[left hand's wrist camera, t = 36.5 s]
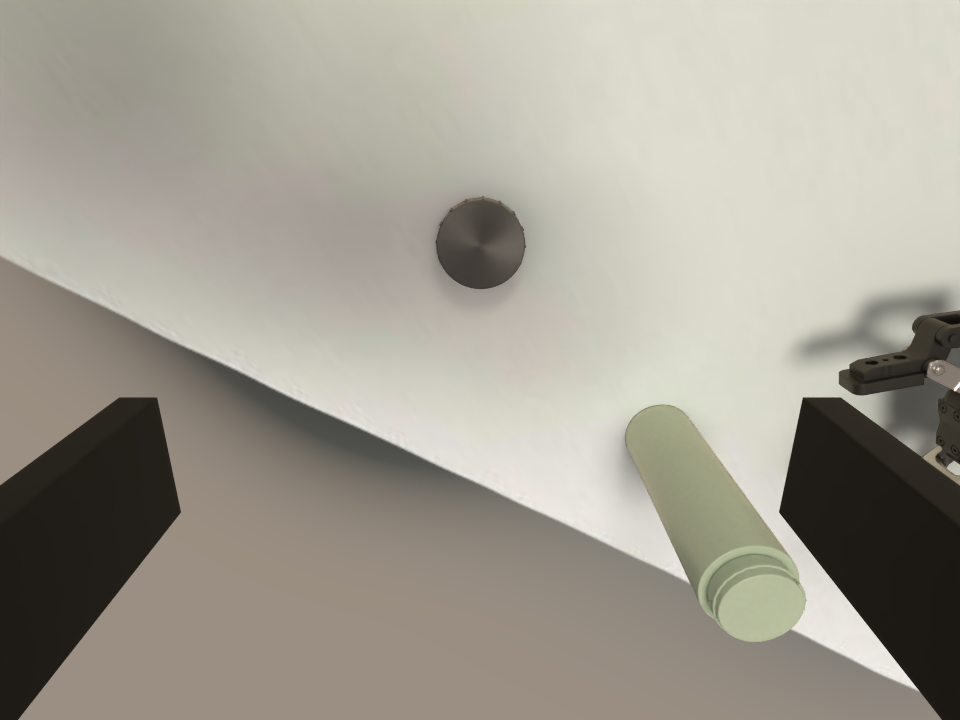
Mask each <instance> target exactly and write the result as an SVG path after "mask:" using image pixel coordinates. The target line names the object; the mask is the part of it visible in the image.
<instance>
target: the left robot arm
mask: <svg viewBox="0 0 960 720" xmlns="http://www.w3.org/2000/svg"><path fill="white" fill-rule="evenodd" d="M180 513H181V510H180V506H179V501H178V496H177V491H176V486H175V482H174V477H173V472H172V467H171V462H170V458H169V453H168V448H167V443H166V438H165V434H164V429H163V424H162V419H161V414H160V409H159V405H158V400H157V398H118V399H117V400H115V401H114V402H113V403H111V404H110V405H109V406H107V407H106V408H105V409H103V410H102V411H100V412H99V413H98V414H96V415H95V416H94V417H92V418H91V419H90V420H88V421H87V422H86V423H84V424H83V425H81V426H80V427H79V428H77V429H76V430H75V431H73V432H72V433H71V434H69V435H68V436H67V437H65V438H64V439H62V440H61V441H60V442H58V443H57V444H56V445H54V446H53V447H52V448H50V449H49V450H48V451H46V452H45V453H44V454H42V455H41V456H39V457H38V458H37V459H35V460H34V461H33V462H31V463H30V464H29V465H27V466H26V467H25V468H23V469H22V470H20V471H19V472H18V473H16V474H15V475H14V476H12V477H11V478H10V479H8V480H7V481H6V482H4V483H3V484H2V485H0V720H18V719H19V718H20V716H21V715H22V714H23V713H24V711H25V710H26V709H27V707H28V706H29V705H30V704H31V702H32V701H33V700H34V699H35V697H36V696H37V695H38V694H39V692H40V691H41V690H42V688H43V687H44V686H45V685H46V683H47V682H48V681H49V680H50V678H51V677H52V676H53V674H54V673H55V672H56V671H57V669H58V668H59V667H60V666H61V664H62V663H63V662H64V660H65V659H66V658H67V657H68V655H69V654H70V653H71V652H72V650H73V649H74V648H75V646H76V645H77V644H78V643H79V641H80V640H81V639H82V638H83V636H84V635H85V634H86V632H87V631H88V630H89V629H90V627H91V626H92V625H93V624H94V622H95V621H96V620H97V618H98V617H99V616H100V615H101V613H102V612H103V611H104V609H105V608H106V607H107V606H108V604H109V603H110V602H111V601H112V599H113V598H114V597H115V596H116V594H117V593H118V592H119V590H120V589H121V588H122V587H123V585H124V584H125V583H126V582H127V580H128V579H129V578H130V576H131V575H132V574H133V573H134V571H135V570H136V569H137V568H138V566H139V565H140V564H141V562H142V561H143V560H144V559H145V557H146V556H147V555H148V554H149V552H150V551H151V550H152V548H153V547H154V546H155V545H156V543H157V542H158V541H159V540H160V538H161V537H162V536H163V534H164V533H165V532H166V531H167V529H168V528H169V527H170V525H171V524H172V523H173V522H174V520H175V519H176V518H177V517H178V515H179V514H180ZM779 513H780V514H781V515H782V517H783V518H784V519H785V520H786V522H787V523H788V524H789V526H790V527H791V528H792V529H793V531H794V532H795V533H796V534H797V536H798V537H799V538H800V540H801V541H802V542H803V543H804V545H805V546H806V547H807V548H808V550H809V551H810V552H811V554H812V555H813V556H814V557H815V559H816V560H817V561H818V562H819V564H820V565H821V566H822V568H823V569H824V570H825V571H826V573H827V574H828V575H829V576H830V578H831V579H832V580H833V582H834V583H835V584H836V585H837V587H838V588H839V589H840V590H841V592H842V593H843V594H844V596H845V597H846V598H847V599H848V601H849V602H850V603H851V604H852V606H853V607H854V608H855V610H856V611H857V612H858V613H859V615H860V616H861V617H862V618H863V620H864V621H865V622H866V624H867V625H868V626H869V627H870V629H871V630H872V631H873V632H874V634H875V635H876V636H877V638H878V639H879V640H880V641H881V643H882V644H883V645H884V646H885V648H886V649H887V650H888V652H889V653H890V654H891V655H892V657H893V658H894V659H895V660H896V662H897V663H898V664H899V666H900V667H901V668H902V669H903V671H904V672H905V673H906V674H907V676H908V677H909V678H910V680H911V681H912V682H913V683H914V685H915V686H916V687H917V688H918V690H919V691H920V692H921V694H922V695H923V696H924V697H925V698H926V700H927V701H928V702H929V704H930V705H931V706H932V708H933V709H934V710H935V711H936V713H937V714H938V715H939V716H940V718H941V719H942V720H960V485H959V484H957V483H956V482H954V481H953V480H952V479H950V478H949V477H948V476H946V475H945V474H944V473H942V472H941V471H940V470H938V469H937V468H935V467H934V466H933V465H931V464H930V463H929V462H927V461H926V460H925V459H923V458H922V457H921V456H919V455H918V454H916V453H915V452H914V451H912V450H911V449H910V448H908V447H907V446H906V445H904V444H903V443H902V442H900V441H899V440H898V439H896V438H895V437H893V436H892V435H891V434H889V433H888V432H887V431H885V430H884V429H883V428H881V427H880V426H879V425H877V424H876V423H874V422H873V421H872V420H870V419H869V418H868V417H866V416H865V415H864V414H862V413H861V412H860V411H858V410H857V409H855V408H854V407H853V406H851V405H850V404H849V403H847V402H846V401H845V400H843V399H842V398H803V400H802V405H801V409H800V414H799V419H798V424H797V429H796V433H795V438H794V443H793V448H792V453H791V458H790V462H789V467H788V472H787V477H786V482H785V486H784V491H783V496H782V501H781V506H780V510H779Z"/></svg>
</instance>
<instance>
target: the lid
mask: <svg viewBox="0 0 960 720" xmlns="http://www.w3.org/2000/svg"><path fill="white" fill-rule="evenodd" d="M440 226H441V227H440V229H439V233H438V237H437V240H436V243H437V253H438V257H439V260H440V263H441V265H442V266H443V268H444V270H445V271H446V272H447V274H448V275H449V276H450V277H451V278H453V279H454V280H455V281H457V282H458V283H460V284H462V285H464V286H467V287H470V288H475V289H487V288H492V287H495V286H498V285H500V284H502V283H504V282H505V281H507V280H508V279H509V278H510V277H512V275H513V274H514V273H515V272H516V271H517V269H518V268H519V266H520V265H521V262H522V259H523V256H524V251H525V248H526V246H525V238H524V233H523V231H524V229H523V227H522V226H521V225H520V223H519V221H518V219H517V217H516V216H515V212H514V211H513V212H512V211H511V210H510V209H509V208H508V207H507V206H505V205H504V204H502V203H501V201H499V202H498V201H496V200H493V199H489V198H484V197H482V198H473V199H469V200H467V199H465V201H463V202H461V203H460V204H458V205H457V206H455V207H454V208H451V209H450V212H449V213H448V214H447V215H446V217H445V218H444V220H443V222H441V223H440Z"/></svg>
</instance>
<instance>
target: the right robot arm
mask: <svg viewBox="0 0 960 720" xmlns="http://www.w3.org/2000/svg"><path fill="white" fill-rule="evenodd" d="M912 330H913V332H914V333H915V337H914V339H913V341H912V343H911V345H910V346H909V347H907V348H905V349H904V350H903V351H901V352H897V353H892V354H886V355H881V356H876V357H870V358H865V359H859V360H857V361H855V362H853V363H851V364H850V369H846V370H842V371H840V372H839V384H840V385H841V386H842V387H844V388H845V389H847V390H848V391H849V392H851V393H852V394H855V395H868V394H874V393H879V392H885V391H890V390H896V389H901V388H907V387H912V386H918V385H924V378H927V377H928V378H930V379H932V380H934V381H936V382H938V383H940V384H942V385H944V386H946V387H948V388H950V390H949V391H948V392H947V393H946V395H945V397H944V398H943V399H939V403H938V412H939V416H940V420H941V422H940V425H939V428H938V430H937V434H936V444H937V445H938V446H936V447H935V448H934V449H933V450H931V451H930V452H929V453H927V454H926V455H925V456H924V457H922V458H923V459H925V460H926V461H927V462H929V463H930V464H931V465H933V466H934V467H935V468H937V469H938V470H940V471H941V472H942V473H944V474H945V475H946V476H948V477H949V478H950V479H952V480H953V481H954V482H956V483H957V484H959V485H960V476H958V475H955V474H953V473H952V472H950V471H949V470H947V469H946V468H947V466H948V465H949V464H950V463H951V462H953V461H956V462H957V463H958V464H960V368H958V367H956V366H954V365H952V364H950V363H949V362H947V361H946V359H947V357H948V355H949V352H950V350H951V348H958V347H960V311H953V312H946V313H938V314H931V315H923V316H920V317H918V318H917V319H916V320H915V321H914V323H913V325H912Z"/></svg>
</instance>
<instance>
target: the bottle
mask: <svg viewBox="0 0 960 720" xmlns="http://www.w3.org/2000/svg"><path fill="white" fill-rule="evenodd" d="M625 439H626V445H627V448H628V450H629V453H630V455H631V457H632V459H633V461H634V463H635V465H636V468H637V470H638V472H639V474H640V476H641V478H642V480H643V483H644V485H645V487H646V489H647V491H648V493H649V495H650V498H651V500H652V502H653V504H654V506H655V508H656V511H657V513H658V515H659V517H660V519H661V521H662V523H663V526H664V528H665V530H666V532H667V534H668V536H669V538H670V541H671V543H672V545H673V547H674V549H675V551H676V553H677V556H678V558H679V560H680V562H681V564H682V566H683V569H684V571H685V573H686V575H687V577H688V579H689V581H690V584H691V586H692V588H693V590H694V592H695V594H696V596H697V599H698V601H699V603H700V605H701V607H702V608H703V610H704V611H705V612H706V613H707V614H708V615H709V616H710V617H712V618H713V619H715V620H716V621H717V623H718V624H719V626H720V627H721V628H722V629H723V630H725V631H726V632H727V633H728V634H730V635H731V636H733V637H735V638H737V639H740V640H743V641H749V642H760V641H767V640H770V639H773V638H776V637H778V636H780V635H782V634H784V633H786V632H787V631H789V630H790V629H791V628H792V627H793V626H794V625H795V624H796V623H797V622H798V621H799V619H800V617H801V616H802V613H803V611H804V610H805V604H806V596H805V591H804V589H803V587H802V586H801V584H800V582H799V573H798V569H797V567H796V565H795V563H794V562H793V560H792V559H791V557H790V556H789V555H788V553H787V552H786V551H785V549H784V548H783V546H782V545H781V544H780V542H779V541H778V540H777V538H776V537H775V535H774V534H773V533H772V531H771V530H770V529H769V527H768V526H767V524H766V523H765V522H764V520H763V519H762V518H761V516H760V515H759V514H758V512H757V511H756V509H755V508H754V507H753V505H752V504H751V503H750V501H749V500H748V498H747V497H746V496H745V494H744V493H743V492H742V490H741V489H740V487H739V486H738V485H737V483H736V482H735V481H734V479H733V478H732V476H731V475H730V474H729V472H728V471H727V470H726V468H725V467H724V466H723V464H722V463H721V461H720V460H719V459H718V457H717V456H716V455H715V453H714V452H713V450H712V449H711V448H710V446H709V445H708V444H707V442H706V441H705V439H704V438H703V437H702V435H701V434H700V433H699V431H698V430H697V428H696V427H695V426H694V424H693V423H692V422H691V420H690V419H689V418H688V416H687V415H686V414H685V413H684V412H683V411H681V410H680V409H678V408H675V407H673V406H668V405H657V406H652V407H649V408H647V409H645V410H643V411H641V412H640V413H638V414H637V415H636V416H635V417H634V418H633V419H632V421H631V422H630V424H629V425H628V428H627V431H626V437H625Z"/></svg>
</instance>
